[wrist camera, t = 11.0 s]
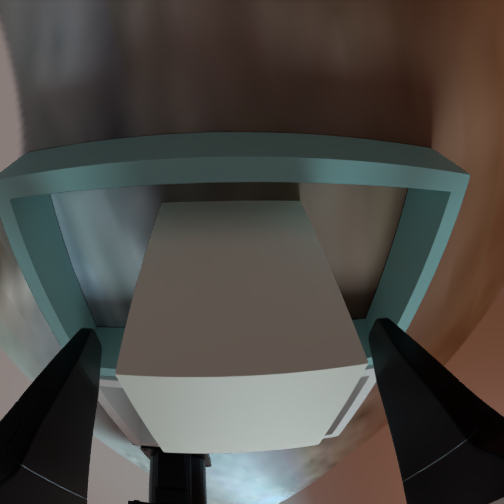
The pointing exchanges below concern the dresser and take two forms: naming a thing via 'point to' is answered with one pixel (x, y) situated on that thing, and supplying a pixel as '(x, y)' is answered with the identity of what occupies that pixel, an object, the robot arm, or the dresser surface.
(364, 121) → the dresser surface
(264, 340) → the cream block
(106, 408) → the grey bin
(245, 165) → the teal bin
